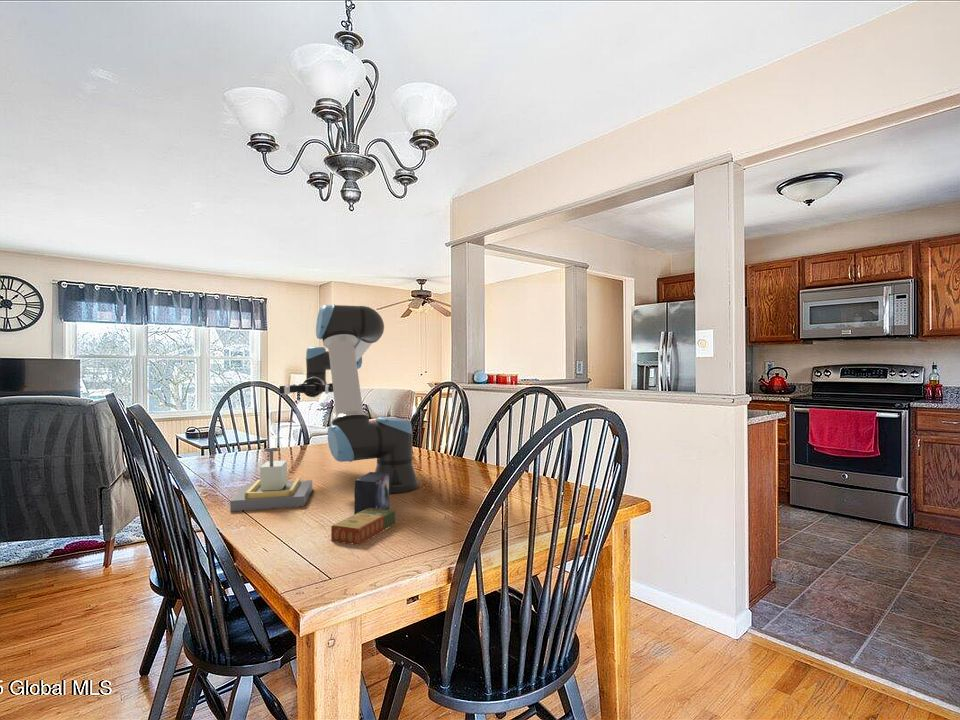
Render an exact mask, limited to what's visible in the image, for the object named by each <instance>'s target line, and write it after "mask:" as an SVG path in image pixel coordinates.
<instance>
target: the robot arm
mask: <svg viewBox="0 0 960 720" xmlns="http://www.w3.org/2000/svg"><path fill="white" fill-rule="evenodd" d="M384 331H385V323H384V321H383V318H382V316H381V315H380V314H379V312H377V311H376V310H375V309H374V308H371V307H369V306H367V305H366V306H365V305H347V304H346V305H345V304H343V305H342V304H323V305H322V306H321V307H320V308H319V310H318V314H317V318H316V328H315V336H316V338H317V339H318V340H322V345H323V346H310V347H307V348H306V352H305V353H306V354H305V355H306V356H305V361H306V364H305V365H306V374H305V376H306V378H305V380H304V381H303V383H299V384H298V385H297V384H295V383H294V384H291V385H288V384H287V385H280V386H279V393H280V394H283V395H284V396H288V395H289V394H291V393H292V394H293V393H299V394H304V395H305V396H306V397H309V398H316V397H319V395H321V394H323V393H324V392H325V395H328V394H330V393H333V400H334V401H333V402H334V408H335V410H334V411H335V416H334V417H333V419H332V420H331V425H329V427H328V428H327V434H326V435H327V443H328V448H329V451H330V454H331V455H332V457H333V459H334V460H335V461H337V462H340V463H343V462H345V463H346V462H349V463H351V462H354V461H356V462H357V461H363V460H373V459H376V467H375V471H374V472H377V473H389V494H401V493H407V492H410V491H413V490H416V489H417V488H418V487H419V483H418V482H419V480H418V477H417V475H416V472H415V468H414V465H413V434H414V433H413V429H412V428H413V427H412V423H411V421H410V420H408V419H405V418H400V417H388V416H379V417H376V419H375V421H374V422H371V421H370V417H369V415H368V414H367V413H365V412H364V408H363V400H362V394H361V385H360V380H359V378H360V377H359V372H358V370H359V369H360V368H361V367H362V365H363V356H364V354H365V353H366V352H367V350H368V349H369V348H370V347H371V345H372V344H374V343H377V342H378V341H379V340H380V338H381V337H382V336H383V334H384ZM326 348H327V349H328V351H327V350H326ZM329 370H330V373H331V382H330V383H327V380H326V379H327V376H326V375H327V373H326V371H329Z"/></svg>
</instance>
